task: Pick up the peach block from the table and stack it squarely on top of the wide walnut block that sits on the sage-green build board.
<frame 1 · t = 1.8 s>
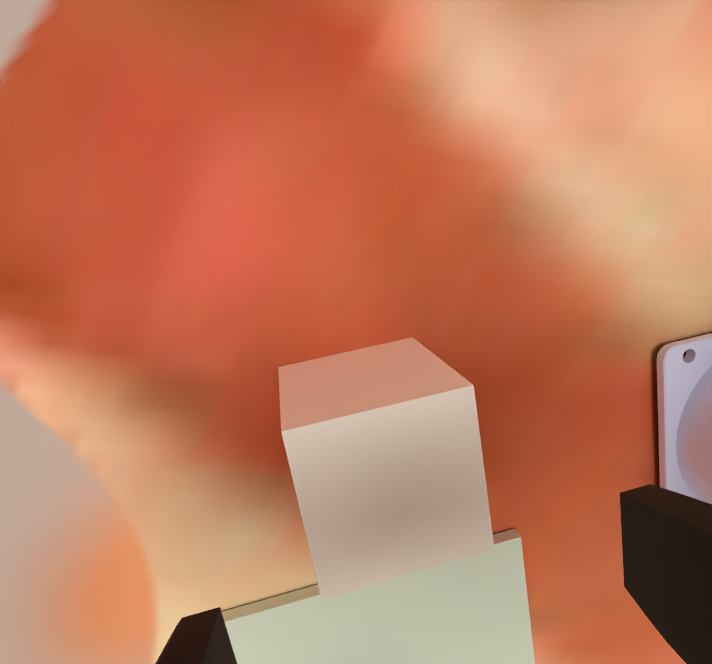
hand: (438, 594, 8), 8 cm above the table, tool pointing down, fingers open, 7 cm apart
peach block: (358, 414, 16), on the table
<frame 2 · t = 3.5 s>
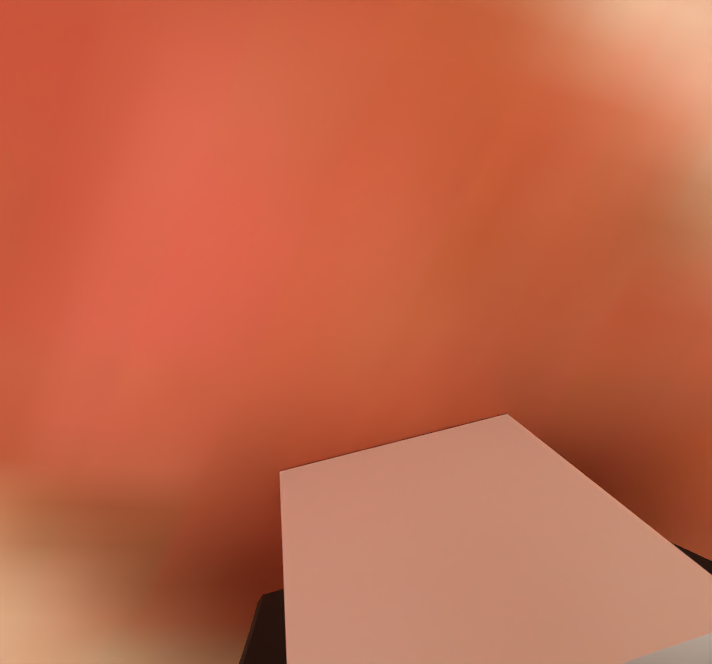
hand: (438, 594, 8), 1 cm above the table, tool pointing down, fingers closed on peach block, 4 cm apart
peach block: (414, 542, 10), on the table, touching gripper
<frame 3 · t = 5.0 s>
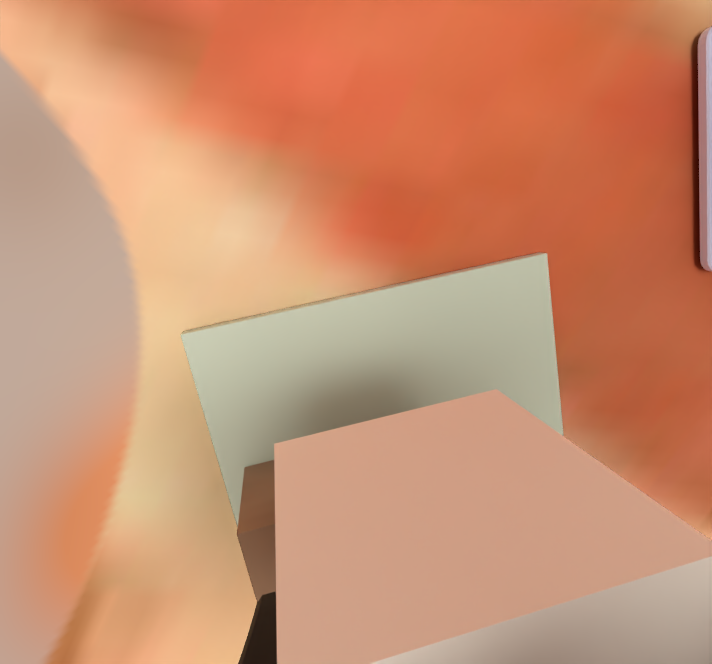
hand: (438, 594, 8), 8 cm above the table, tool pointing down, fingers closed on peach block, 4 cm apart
walnut base: (359, 524, 17), resting on build board
peach block: (406, 515, 10), point 7 cm above the table, touching gripper
build board: (409, 501, 17), on the table
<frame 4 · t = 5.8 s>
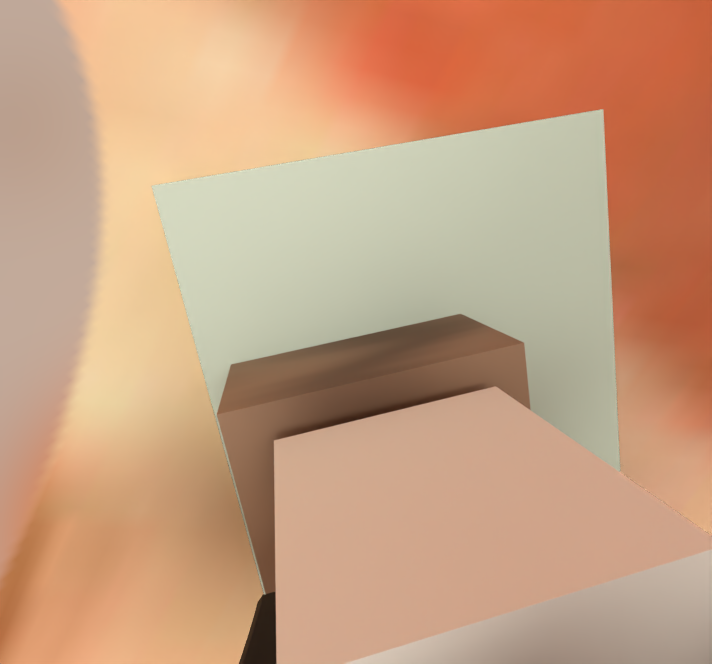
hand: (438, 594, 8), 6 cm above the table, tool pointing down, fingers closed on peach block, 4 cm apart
walnut base: (369, 444, 14), resting on build board
peach block: (406, 512, 10), point 5 cm above the table, touching gripper
build board: (429, 421, 15), on the table
when the fingers open (6 cm above the table, at t = 6.5 s): peach block stays where it is, resting on walnut base.
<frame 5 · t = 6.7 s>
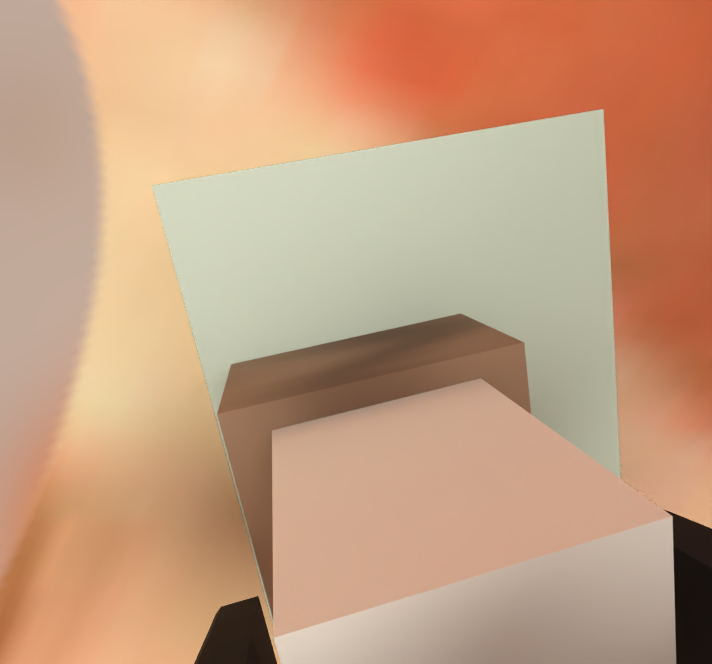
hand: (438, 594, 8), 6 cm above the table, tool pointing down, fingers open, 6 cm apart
walnut base: (369, 443, 14), resting on build board, touching peach block
peach block: (397, 497, 10), point 4 cm above the table, touching walnut base
build board: (429, 420, 15), on the table
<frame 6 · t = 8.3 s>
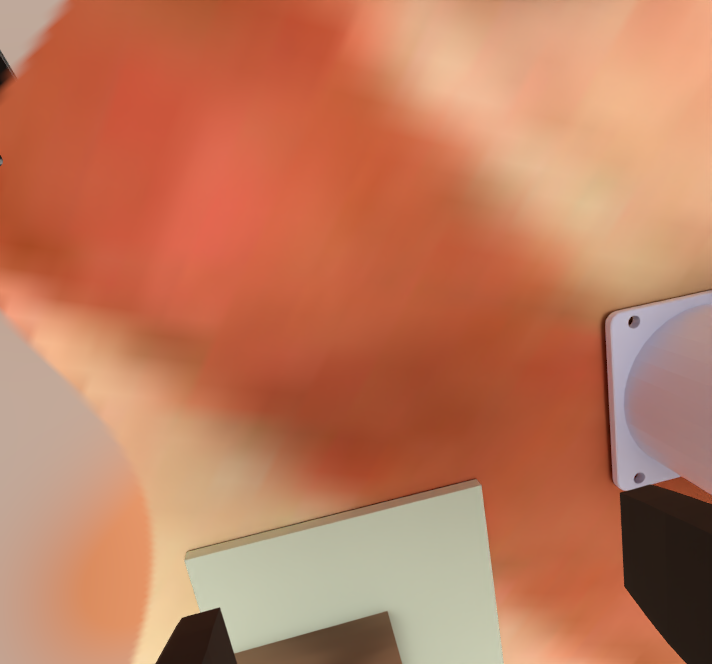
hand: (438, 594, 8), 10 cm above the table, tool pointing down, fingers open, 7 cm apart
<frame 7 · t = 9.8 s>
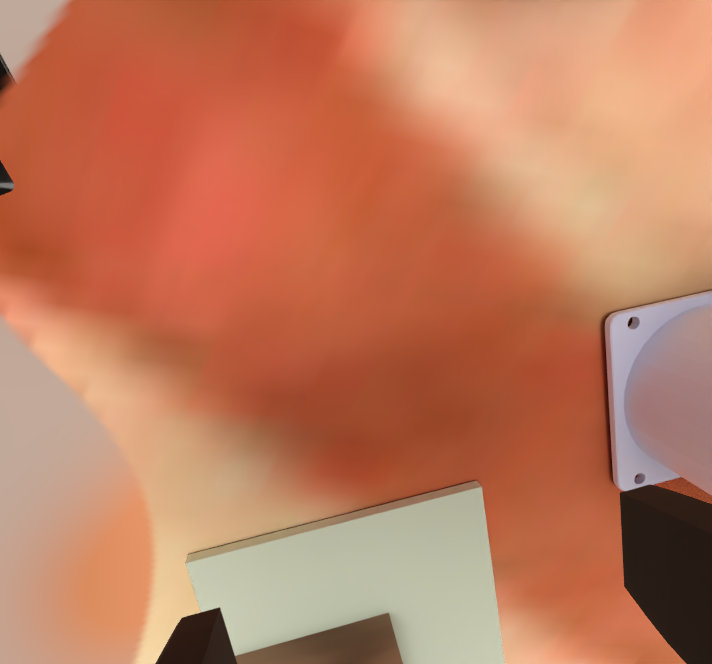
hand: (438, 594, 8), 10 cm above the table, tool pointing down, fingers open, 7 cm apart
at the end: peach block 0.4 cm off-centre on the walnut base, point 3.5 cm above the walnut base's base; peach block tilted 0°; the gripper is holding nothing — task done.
